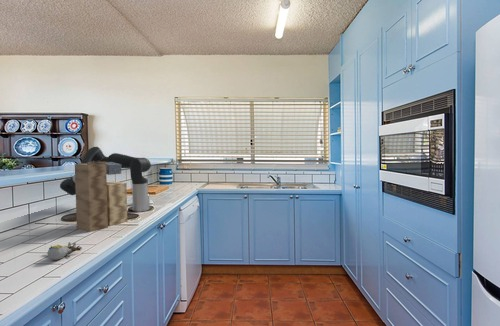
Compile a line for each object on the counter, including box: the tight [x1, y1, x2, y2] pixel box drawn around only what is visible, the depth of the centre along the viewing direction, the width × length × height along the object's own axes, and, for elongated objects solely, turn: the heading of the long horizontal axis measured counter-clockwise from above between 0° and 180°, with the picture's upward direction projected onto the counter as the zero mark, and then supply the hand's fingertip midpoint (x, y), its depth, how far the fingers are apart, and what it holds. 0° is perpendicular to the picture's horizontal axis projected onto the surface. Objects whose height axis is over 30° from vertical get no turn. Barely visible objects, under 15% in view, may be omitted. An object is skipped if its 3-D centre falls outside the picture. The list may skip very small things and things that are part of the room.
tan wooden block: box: [107, 181, 128, 227], centre depth 162 cm, size 10×12×21 cm
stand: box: [74, 162, 109, 233], centre depth 150 cm, size 9×12×33 cm
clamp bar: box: [106, 162, 122, 176], centre depth 164 cm, size 7×22×5 cm, turn 57°
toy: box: [46, 241, 83, 261], centre depth 114 cm, size 12×5×15 cm
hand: (96, 162), depth 168 cm, fingers closed on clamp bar, 2 cm apart
